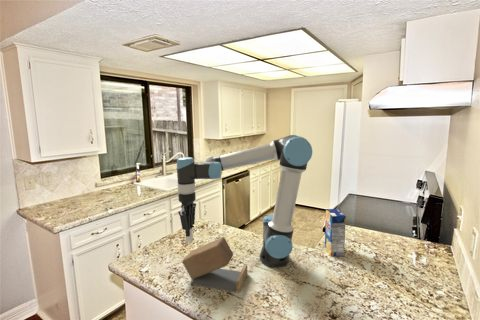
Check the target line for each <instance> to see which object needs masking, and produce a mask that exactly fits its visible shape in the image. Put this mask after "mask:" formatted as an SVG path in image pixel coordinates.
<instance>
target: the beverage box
mask: <svg viewBox="0 0 480 320" xmlns="http://www.w3.org/2000/svg"><path fill="white" fill-rule="evenodd" d="M346 220H347V216H346V215H345V213H343V212H342V210H340V209H339V208H326V209H325V227H324V229H325V232H324V247H325V249H326V251H327V254H328V255H329V256H330V257H345V247H346V246H345V243H346V224H347V223H346Z"/></svg>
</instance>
